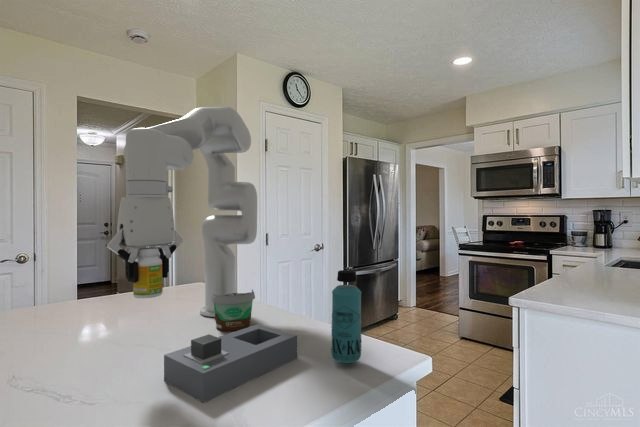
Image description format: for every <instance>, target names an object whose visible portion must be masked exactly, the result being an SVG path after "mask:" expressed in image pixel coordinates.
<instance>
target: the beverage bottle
mask: <svg viewBox="0 0 640 427" xmlns="http://www.w3.org/2000/svg"><path fill="white" fill-rule="evenodd" d="M357 279H358V278H357V272H356V271H355V270H351V269H343V270H338V271H337V278H336V281H338V282H340V283H341V282H342V283H352V282H353V283H354V282H357ZM331 295H332V297H331V298H332V300H331V301H332V305H331V306H332V308H331V311H332V313H331V332H330V333H331V346H330V353H331V355H332V356H331V357H332V359H333V360H335V361H336V362H339V363H346V364H347V363H350V364H351V363H355V362H357V361H359V360H360V359H361V356H362V339H363V338H362V327H363V325H362V291H361V290H360V288H358V286H356V285H354V284H353V285H352V284H340V285H339V284H338V285H336V287H335V288H334V289H332V291H331Z"/></svg>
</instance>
